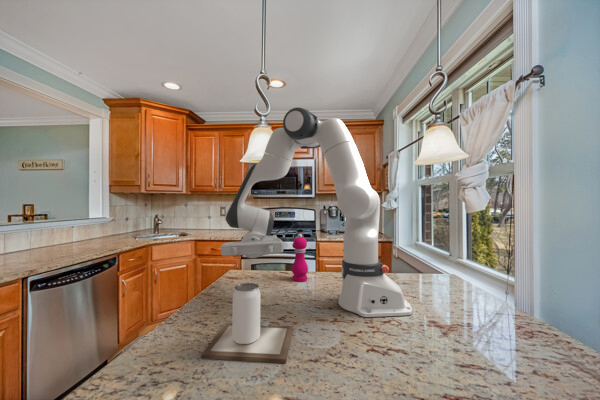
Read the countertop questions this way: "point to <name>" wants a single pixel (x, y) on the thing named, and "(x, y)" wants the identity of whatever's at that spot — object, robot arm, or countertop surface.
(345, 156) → the robot arm
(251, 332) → the can
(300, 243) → the pepper mill
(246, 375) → the countertop surface
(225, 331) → the clipboard
